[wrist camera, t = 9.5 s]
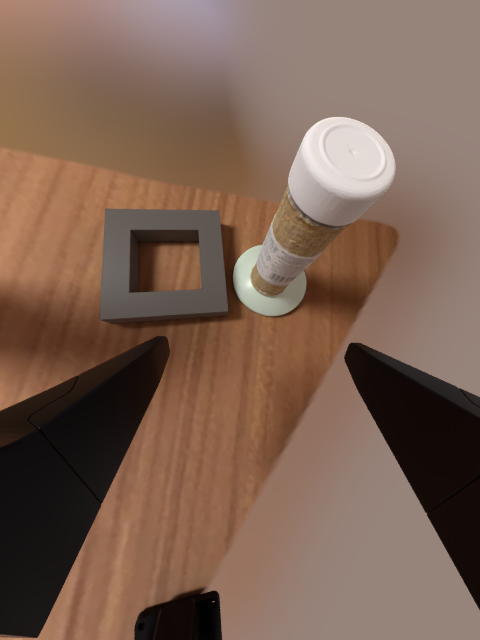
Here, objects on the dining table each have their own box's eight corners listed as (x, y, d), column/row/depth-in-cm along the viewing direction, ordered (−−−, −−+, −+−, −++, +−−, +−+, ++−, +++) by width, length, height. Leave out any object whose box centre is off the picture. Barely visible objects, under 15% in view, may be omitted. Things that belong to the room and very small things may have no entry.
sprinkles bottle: (290, 270, 21) (407, 136, 8) (280, 303, 20) (394, 210, 7) (256, 256, 21) (319, 95, 8) (243, 289, 20) (292, 166, 7)
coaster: (309, 313, 21) (312, 312, 21) (236, 319, 20) (236, 318, 19) (297, 247, 23) (299, 244, 22) (229, 248, 22) (229, 245, 21)
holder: (227, 315, 20) (228, 311, 18) (112, 323, 18) (99, 319, 16) (219, 223, 22) (219, 210, 20) (116, 222, 20) (105, 208, 18)
